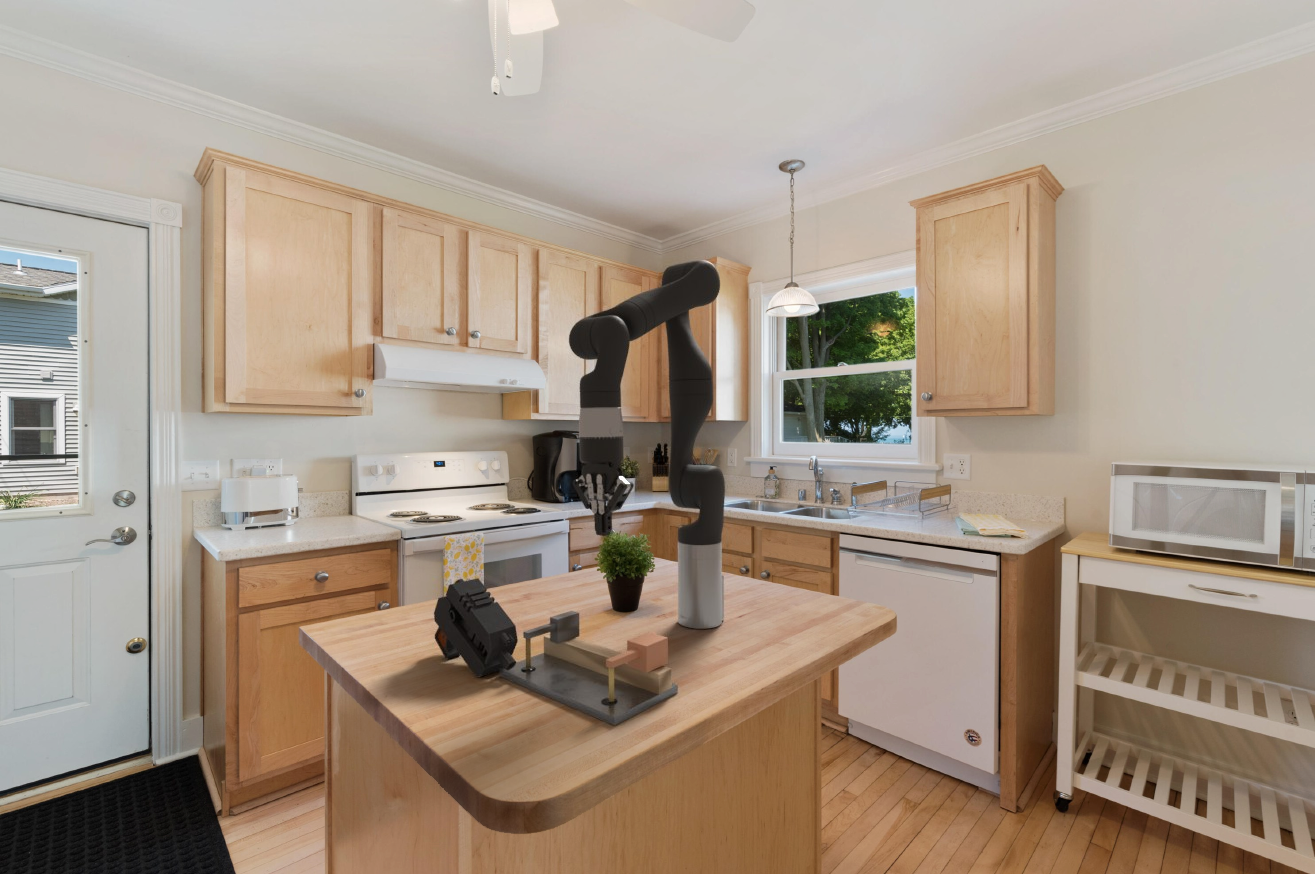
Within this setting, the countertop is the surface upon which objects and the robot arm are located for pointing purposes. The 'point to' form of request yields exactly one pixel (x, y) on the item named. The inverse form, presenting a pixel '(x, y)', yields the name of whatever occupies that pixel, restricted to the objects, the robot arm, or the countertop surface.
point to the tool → (475, 628)
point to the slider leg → (640, 656)
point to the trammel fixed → (592, 654)
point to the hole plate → (583, 688)
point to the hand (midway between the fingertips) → (603, 534)
